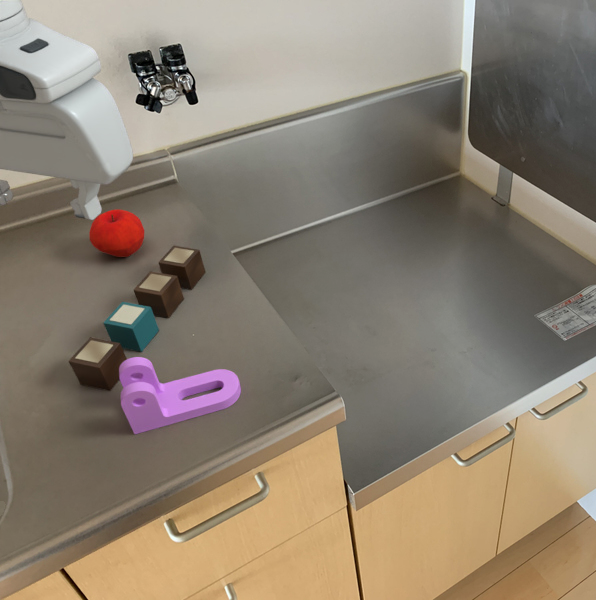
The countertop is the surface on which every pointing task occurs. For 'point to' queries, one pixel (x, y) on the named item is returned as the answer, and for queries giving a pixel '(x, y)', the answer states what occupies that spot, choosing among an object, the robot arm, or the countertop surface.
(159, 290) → the block
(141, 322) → the letter block
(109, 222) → the apple
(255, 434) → the countertop surface
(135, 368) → the bracket
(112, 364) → the block
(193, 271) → the block
